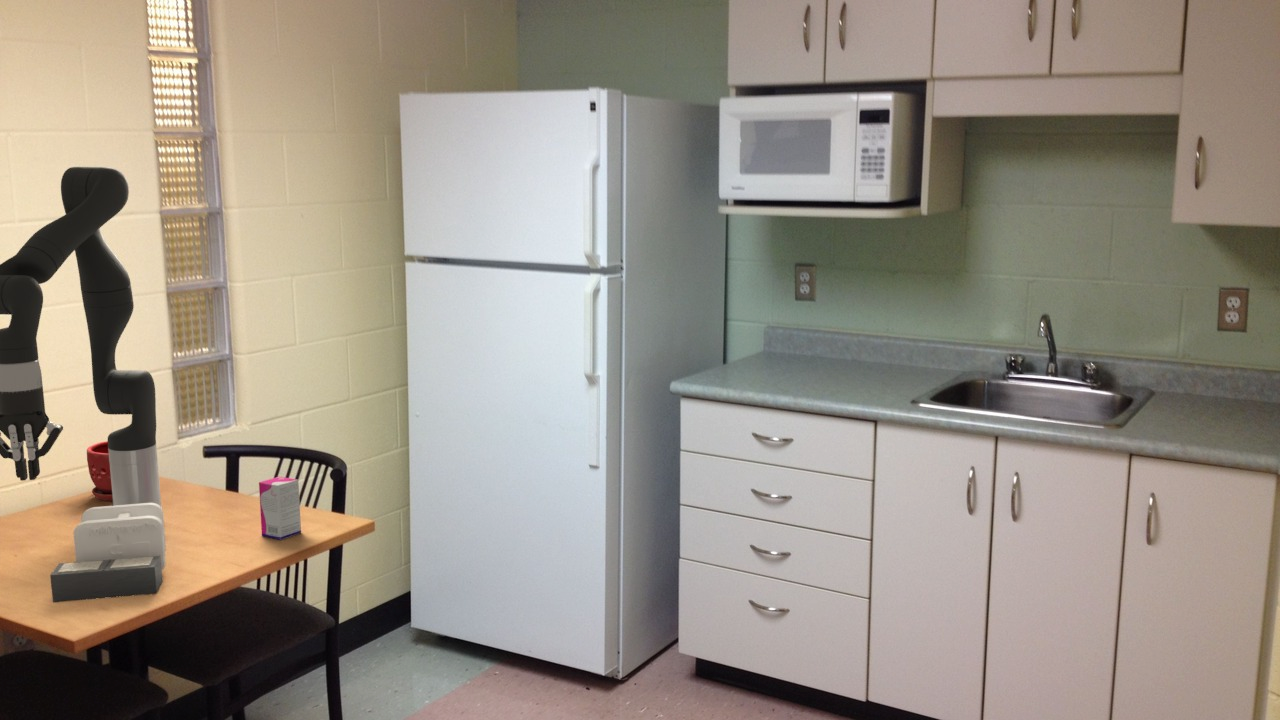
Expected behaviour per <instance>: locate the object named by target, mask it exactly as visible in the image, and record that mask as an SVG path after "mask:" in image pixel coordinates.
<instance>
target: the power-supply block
mask: <svg viewBox="0 0 1280 720" xmlns="http://www.w3.org/2000/svg"><path fill="white" fill-rule="evenodd" d="M49 576H50V585H51V586H50V587H51V595H52V603H61V602H63V603H64V602H74V601H75V602H76V601H84V600H85V601H86V599H87V600H97V599H96V598H99V599H106V598H105V597H111V598H120V597H119V596H121V598H122V596H123V597H132V595H134V596H143V595H157V594H158V592H159V590H160V588H161V586H162V584H163V583H164V581H163V580H164V579H163V569H162V567H161V556H150V557H137V558H124V559H109V560H99V561H86V562H76V561H75V562H62V563H58V564H57V566H56V567H55V568H54V570H53V571H52V572H51V574H50V575H49ZM116 596H118V597H116Z"/></svg>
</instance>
